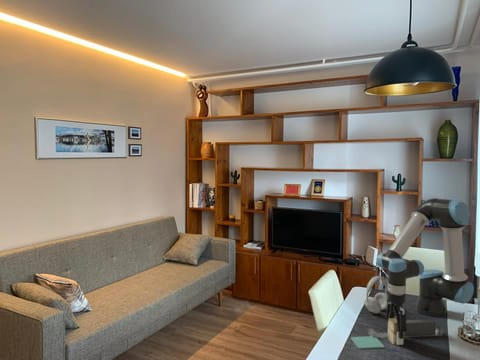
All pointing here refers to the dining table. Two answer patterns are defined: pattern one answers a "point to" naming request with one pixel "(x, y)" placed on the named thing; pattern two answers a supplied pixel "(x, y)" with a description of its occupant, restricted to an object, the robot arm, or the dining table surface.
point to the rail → (385, 335)
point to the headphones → (376, 297)
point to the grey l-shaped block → (420, 327)
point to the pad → (367, 342)
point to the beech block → (393, 330)
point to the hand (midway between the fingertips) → (395, 339)
